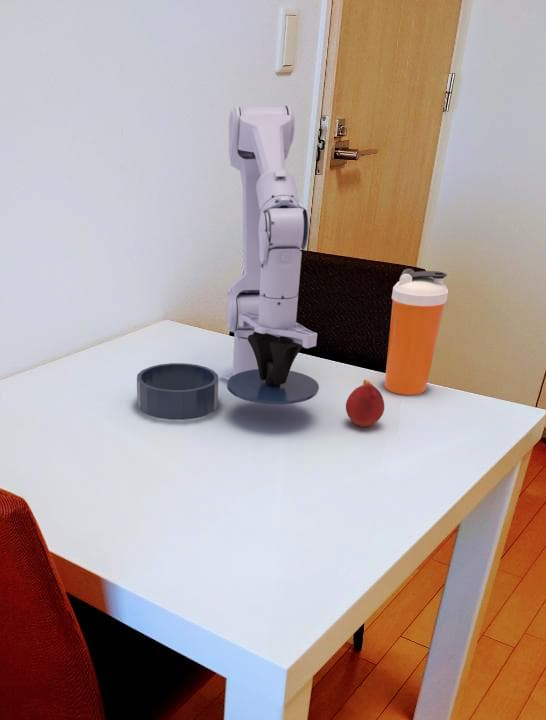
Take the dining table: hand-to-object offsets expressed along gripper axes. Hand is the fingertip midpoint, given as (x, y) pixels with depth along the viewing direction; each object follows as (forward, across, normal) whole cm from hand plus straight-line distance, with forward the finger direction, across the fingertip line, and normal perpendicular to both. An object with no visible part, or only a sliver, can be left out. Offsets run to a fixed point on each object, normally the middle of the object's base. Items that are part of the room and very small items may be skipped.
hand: (272, 381), depth 127 cm
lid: (+1, 0, 0) cm, 1 cm away
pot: (+7, -14, -8) cm, 17 cm away
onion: (+7, +12, +9) cm, 16 cm away
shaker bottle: (+7, +5, +29) cm, 30 cm away
